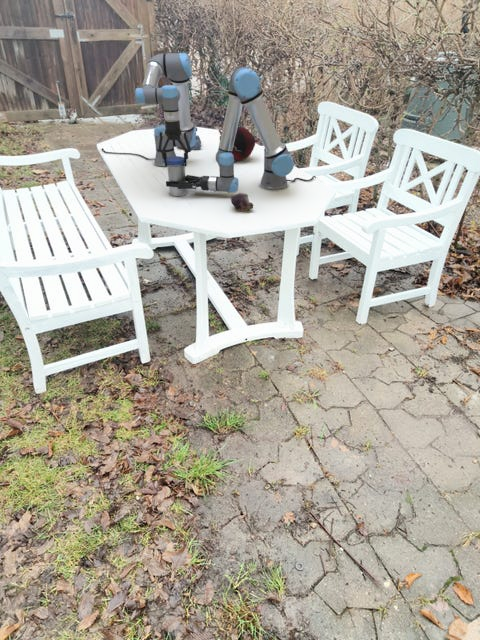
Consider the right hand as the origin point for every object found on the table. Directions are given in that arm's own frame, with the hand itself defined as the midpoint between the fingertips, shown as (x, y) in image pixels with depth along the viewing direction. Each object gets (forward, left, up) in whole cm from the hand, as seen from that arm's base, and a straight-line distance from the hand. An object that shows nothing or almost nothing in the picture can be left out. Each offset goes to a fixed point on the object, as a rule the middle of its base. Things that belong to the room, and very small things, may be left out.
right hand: (169, 180), depth 243 cm
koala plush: (-23, -97, -7) cm, 100 cm away
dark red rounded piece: (-50, -57, -7) cm, 76 cm away
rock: (-32, +34, -7) cm, 47 cm away
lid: (-4, +2, +12) cm, 12 cm away
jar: (-4, +2, -7) cm, 8 cm away
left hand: (-4, +2, +8) cm, 10 cm away
